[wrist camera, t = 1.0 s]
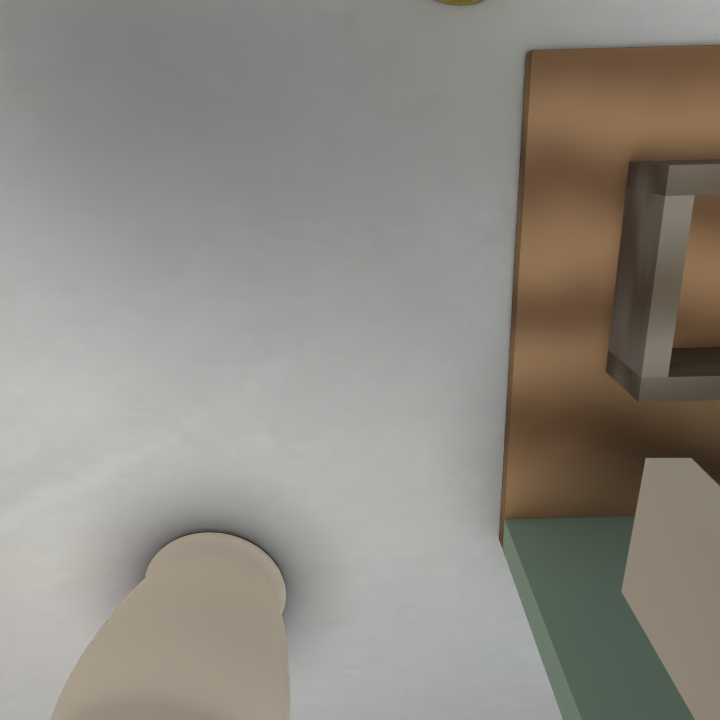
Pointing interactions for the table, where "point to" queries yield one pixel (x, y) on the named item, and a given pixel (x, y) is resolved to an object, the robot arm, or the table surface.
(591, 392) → the socket board
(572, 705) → the green l-shaped post
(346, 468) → the table surface
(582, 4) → the table surface
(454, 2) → the vase
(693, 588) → the robot arm
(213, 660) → the jar
